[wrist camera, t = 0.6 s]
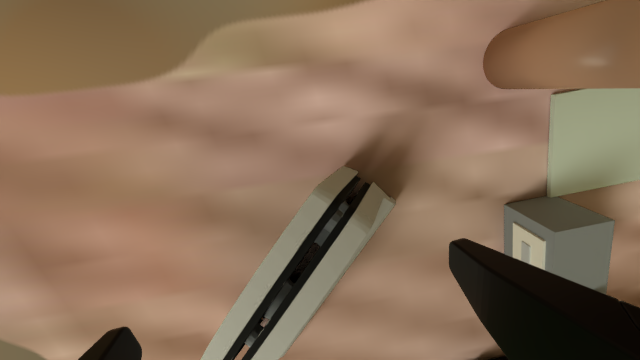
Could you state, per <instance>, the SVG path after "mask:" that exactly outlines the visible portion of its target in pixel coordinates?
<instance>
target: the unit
mask: <svg viewBox="0 0 640 360" xmlns="http://www.w3.org/2000/svg"><path fill="white" fill-rule="evenodd" d="M614 223H615V220H612V219H610V218H608V217H605V216H603V215H600V214H598V213H595V212H593V211H591V210H588V209H586V208H583V207H581V206H578V205H576V204H574V203H571V202H569V201H566V200H564V199H561V198H559V197H552V198H550V197H548V196H544V197H539V198H534V199H529V200H524V201H519V202H514V203H509V204H504V254H506V255H508V256H511V257H513V258H516V259H518V260H521V261H523V262H526V263H528V264H531V265H533V266H536V267H538V268H541V269H543V270H546V271H548V272H551V273H553V274H556V275H558V276H561V277H563V278H566V279H568V280H571V281H573V282H576V283H578V284H581V285H583V286H586V287H588V288H591V289H593V290H596V291H598V292H601V293H603V294H606V290H607V282H608V273H609V265H610V257H611V248H612V240H613V232H614Z"/></svg>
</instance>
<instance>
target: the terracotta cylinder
mask: <svg viewBox="0 0 640 360" xmlns="http://www.w3.org/2000/svg"><path fill="white" fill-rule="evenodd" d="M483 68H484V73H485V75H486V77H487V79H488V80H489V82H490V83H491V84H493V85H494V86H496V87H498V88H501V89H600V88H640V0H606V1H602V2H599V3H595V4H592V5H588V6H585V7H582V8H578V9H575V10H571V11H568V12H564V13H561V14H558V15H554V16H551V17H547V18H544V19H540V20H537V21H533V22H530V23H527V24H523V25H520V26H516V27H513V28H509V29H506V30H504V31H502V32H500V33H499V34H498V35H496V36H495V37H494V38H493V40H492V41H491V42H490V44H489V45H488V47H487V49H486V51H485V55H484V60H483Z"/></svg>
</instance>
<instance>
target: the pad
mask: <svg viewBox="0 0 640 360" xmlns="http://www.w3.org/2000/svg"><path fill="white" fill-rule="evenodd" d="M636 180H640V88H600V89H578V90H573V91H568V92H563V93H558V94H553V95H551V105H550V128H549V151H548V173H547V196H548V197H550V198H552V197H557V196H562V195H567V194H572V193H577V192H582V191H587V190H592V189H597V188H602V187H607V186H612V185H617V184H622V183H627V182H632V181H636Z"/></svg>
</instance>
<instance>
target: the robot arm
mask: <svg viewBox="0 0 640 360" xmlns="http://www.w3.org/2000/svg"><path fill="white" fill-rule="evenodd" d="M449 267H450V270H451V272H452V274H453V275H454V277H455V279H456V280H457V282H458V284H459V286H460V287H461V289H462V291H463V292H464V294H465V296H466V297H467V299H468V301H469V303H470V304H471V306H472V308H473V309H474V311H475V313H476V314H477V316H478V318H479V319H480V321H481V322H482V324H483V325H484V326H485V328H486V329H487V331H488V332H489V333H490V335H491V336H492V337H493V339H494V340H495V342H496V343H497V344H498V346H499V347H500V348H501V350H502V351H503V353H504V354H505V355H506V356H505V357H500V358H495V359H491V360H640V308H639V307H636V306H634V305H631V304H629V303H626V302H624V301H618V299H616V298H613V297H611V296H608V295H606V294H603V293H601V292H598V291H596V290H593V289H591V288H588V287H586V286H583V285H581V284H578V283H576V282H573V281H571V280H568V279H566V278H563V277H561V276H558V275H556V274H553V273H551V272H548V271H546V270H543V269H541V268H538V267H536V266H533V265H531V264H528V263H526V262H523V261H521V260H518V259H516V258H513V257H511V256H508V255H506V254H503V253H501V252H498V251H496V250H493V249H491V248H488V247H486V246H483V245H481V244H478V243H476V242H473V241H471V240H468V239H465V238H462V239H458V240H454V241H452V242H450V244H449ZM141 357H142V349H141V346H140V344H139V343H138V341H137V339H136V338H135V336H134V335H133V333H132V332H131V330H130V329H129V328H128V327H120V328H116V329H112V330H110V331H108V332H107V333H106V334H105V335H103V336H102V337H101V338H100V339H99V340H98V341H97V342H96V343H95V344H94V345H93V346H92V347H91V348H90V349H89V350H88V351H86V352H85V353H84V354H83V355H82V356H81V357H80V358H79V359H78V360H141Z"/></svg>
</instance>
